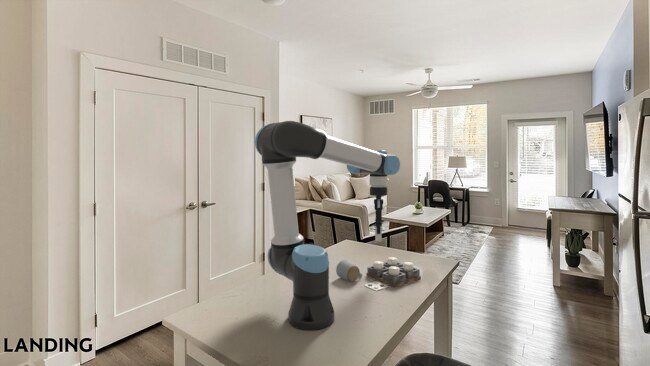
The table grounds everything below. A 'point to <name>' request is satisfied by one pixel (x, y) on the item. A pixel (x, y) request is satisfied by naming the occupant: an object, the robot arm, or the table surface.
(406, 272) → the button board
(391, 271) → the button near right
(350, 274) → the ceramic mug
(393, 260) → the button far left
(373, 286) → the card
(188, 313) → the table surface
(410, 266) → the button far right
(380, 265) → the button near left
